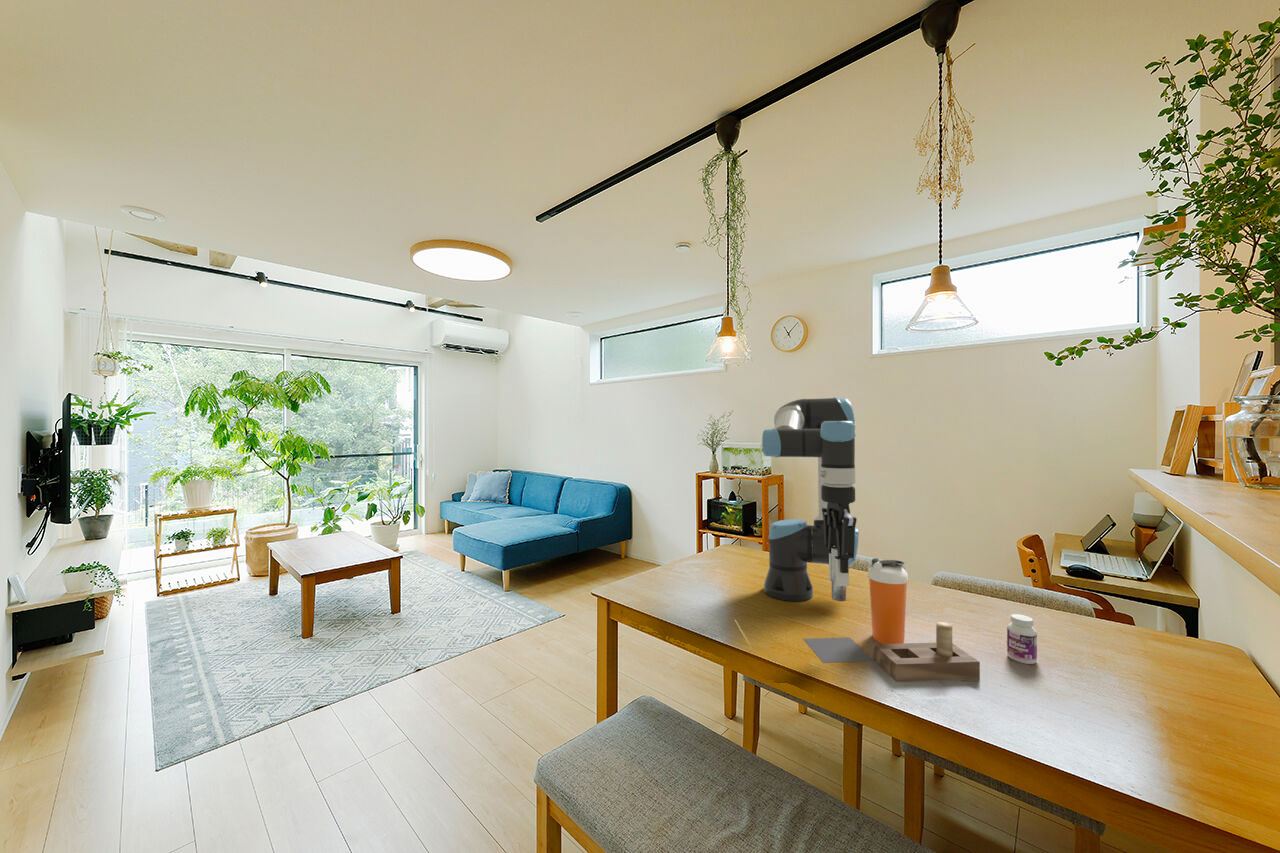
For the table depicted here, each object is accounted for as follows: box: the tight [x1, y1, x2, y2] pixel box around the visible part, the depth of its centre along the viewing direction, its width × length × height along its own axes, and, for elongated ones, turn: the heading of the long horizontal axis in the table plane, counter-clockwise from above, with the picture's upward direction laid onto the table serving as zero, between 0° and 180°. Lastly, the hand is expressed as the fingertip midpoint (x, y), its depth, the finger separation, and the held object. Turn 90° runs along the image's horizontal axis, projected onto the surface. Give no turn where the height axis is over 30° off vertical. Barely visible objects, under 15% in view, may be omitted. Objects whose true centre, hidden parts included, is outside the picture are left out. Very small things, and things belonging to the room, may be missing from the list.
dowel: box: [935, 621, 953, 657], centre depth 104 cm, size 3×3×10 cm
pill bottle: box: [1006, 613, 1038, 665], centre depth 108 cm, size 5×5×10 cm
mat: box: [803, 636, 875, 664], centre depth 113 cm, size 12×12×1 cm
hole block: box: [873, 642, 981, 683], centre depth 104 cm, size 9×18×4 cm, turn 92°
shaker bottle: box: [867, 557, 909, 644], centre depth 118 cm, size 9×9×20 cm
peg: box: [831, 547, 847, 602], centre depth 112 cm, size 3×3×12 cm
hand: (838, 582), depth 112 cm, fingers closed on peg, 3 cm apart
